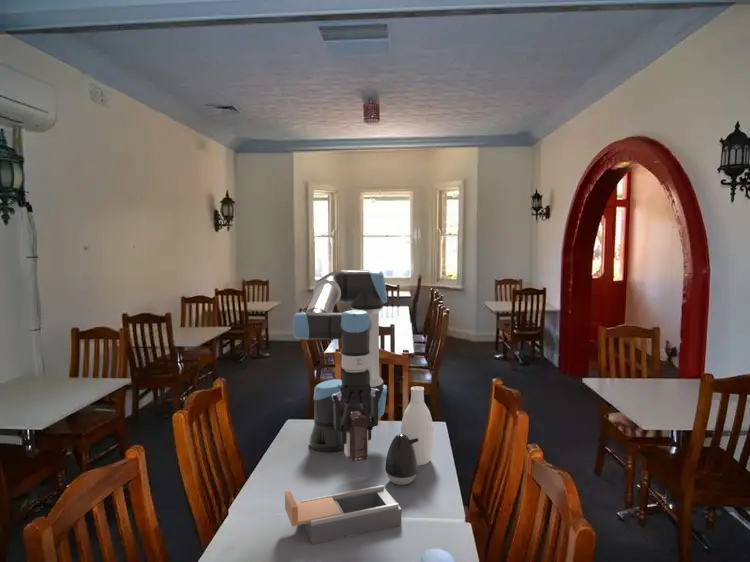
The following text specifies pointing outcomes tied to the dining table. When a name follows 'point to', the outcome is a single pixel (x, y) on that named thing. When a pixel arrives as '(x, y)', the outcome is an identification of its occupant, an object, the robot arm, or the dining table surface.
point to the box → (358, 436)
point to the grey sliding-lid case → (356, 514)
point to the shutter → (309, 509)
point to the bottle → (418, 425)
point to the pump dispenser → (401, 460)
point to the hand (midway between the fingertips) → (356, 452)
